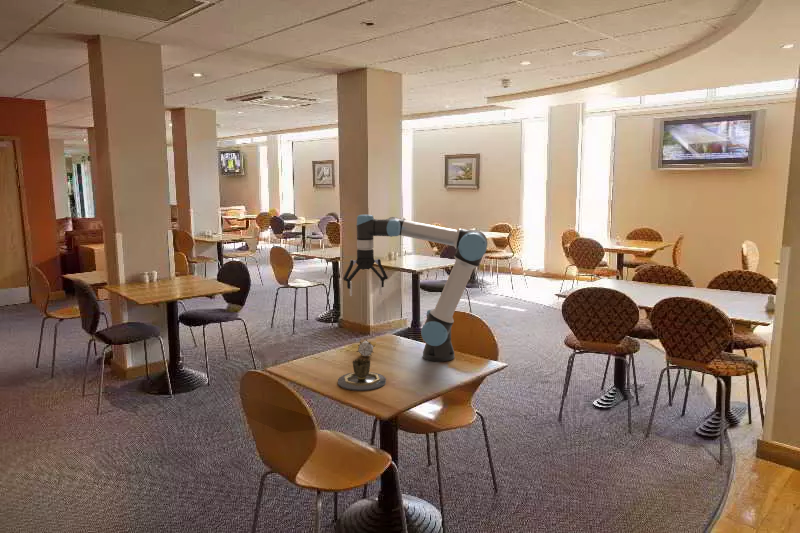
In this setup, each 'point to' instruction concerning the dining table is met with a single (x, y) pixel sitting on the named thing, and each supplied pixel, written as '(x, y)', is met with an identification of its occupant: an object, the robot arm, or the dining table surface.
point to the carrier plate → (361, 382)
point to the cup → (361, 368)
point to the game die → (365, 348)
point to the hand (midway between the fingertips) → (365, 295)
